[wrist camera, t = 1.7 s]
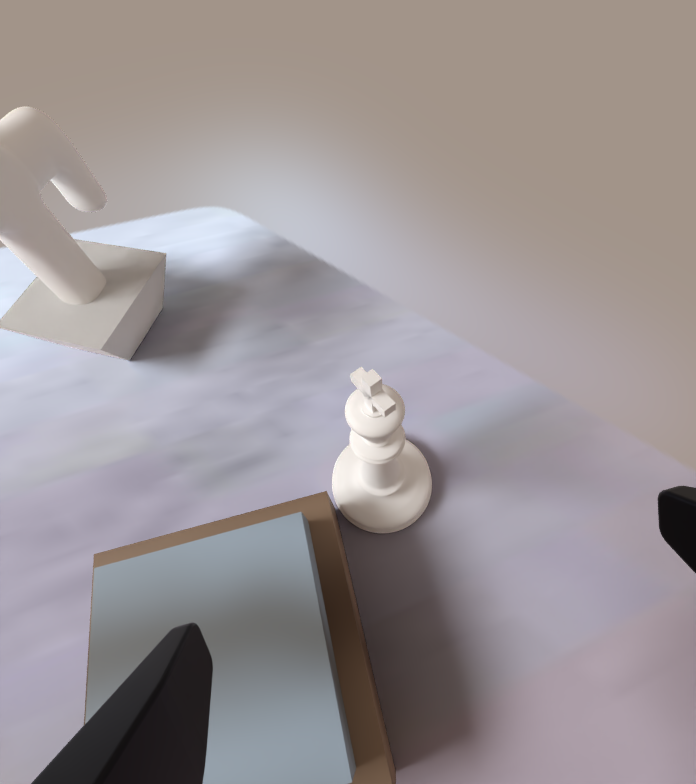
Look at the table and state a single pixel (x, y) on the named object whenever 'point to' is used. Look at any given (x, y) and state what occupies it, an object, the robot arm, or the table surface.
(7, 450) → the table surface
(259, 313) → the table surface
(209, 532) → the stepped pedestal base
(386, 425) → the chess piece
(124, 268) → the figurine
